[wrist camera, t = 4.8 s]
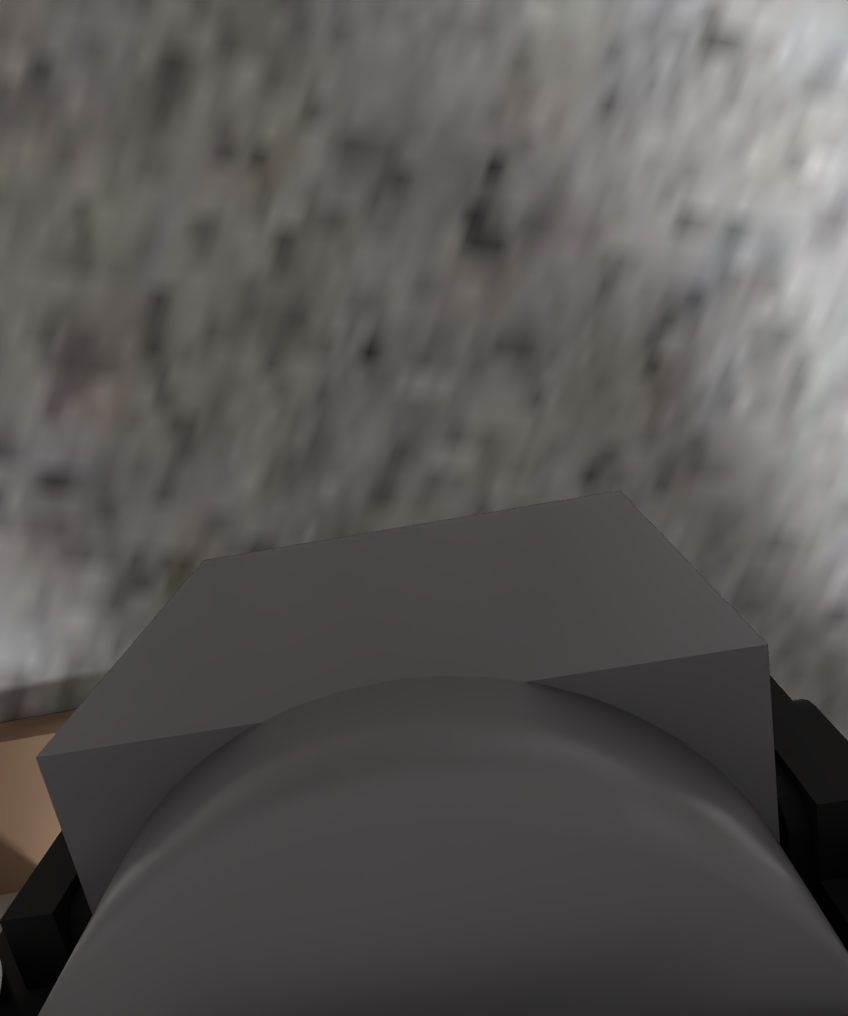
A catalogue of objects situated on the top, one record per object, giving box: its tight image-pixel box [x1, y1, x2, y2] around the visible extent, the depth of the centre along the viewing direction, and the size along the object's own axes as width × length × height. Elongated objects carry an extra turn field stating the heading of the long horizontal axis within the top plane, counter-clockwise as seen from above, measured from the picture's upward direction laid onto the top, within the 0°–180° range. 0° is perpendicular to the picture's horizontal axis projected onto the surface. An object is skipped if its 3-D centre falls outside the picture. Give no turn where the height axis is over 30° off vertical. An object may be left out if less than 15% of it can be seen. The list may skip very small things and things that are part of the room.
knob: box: [36, 491, 848, 1016], centre depth 8 cm, size 7×7×7 cm
